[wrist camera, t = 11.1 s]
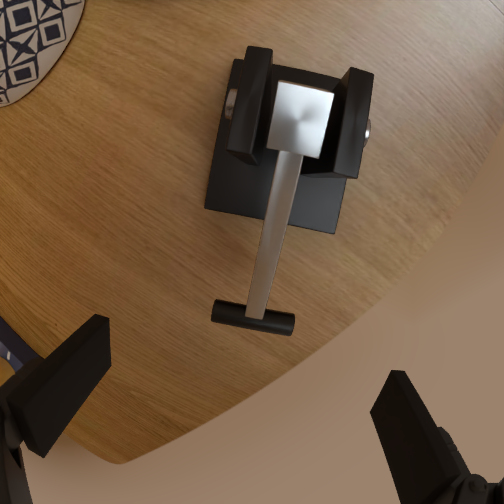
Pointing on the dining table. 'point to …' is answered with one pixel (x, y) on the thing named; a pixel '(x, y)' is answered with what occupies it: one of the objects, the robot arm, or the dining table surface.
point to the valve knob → (5, 371)
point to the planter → (32, 41)
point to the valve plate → (14, 347)
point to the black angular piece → (264, 159)
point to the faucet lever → (280, 200)
